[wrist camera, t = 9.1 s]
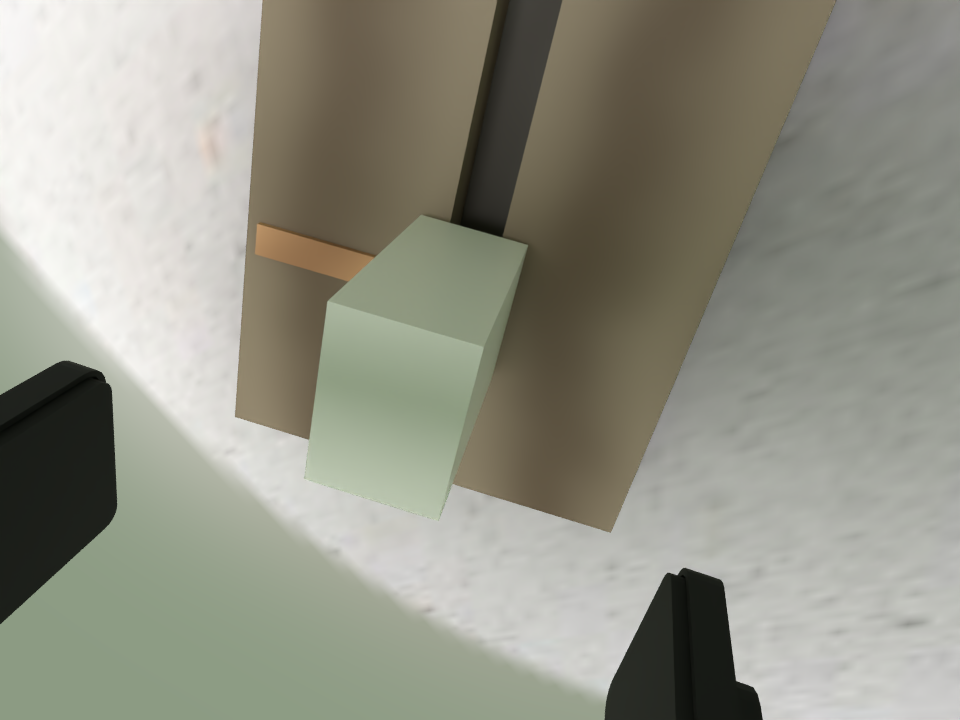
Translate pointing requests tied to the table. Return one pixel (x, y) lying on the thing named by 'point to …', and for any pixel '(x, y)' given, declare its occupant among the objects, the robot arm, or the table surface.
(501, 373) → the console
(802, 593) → the table surface
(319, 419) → the fader
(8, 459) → the robot arm
